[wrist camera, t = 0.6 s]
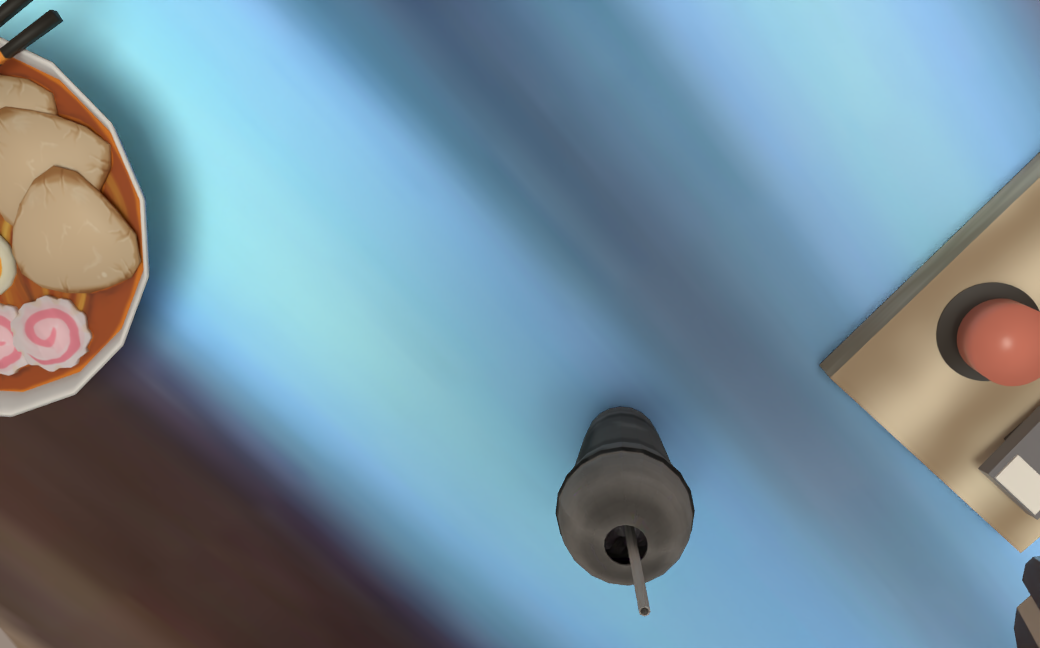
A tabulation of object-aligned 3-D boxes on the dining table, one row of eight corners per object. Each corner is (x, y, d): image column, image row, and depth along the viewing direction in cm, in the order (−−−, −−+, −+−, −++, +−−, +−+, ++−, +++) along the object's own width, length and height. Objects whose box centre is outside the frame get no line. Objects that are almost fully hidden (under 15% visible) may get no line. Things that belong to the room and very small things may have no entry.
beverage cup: (631, 363, 59) (641, 481, 40) (701, 449, 60) (746, 607, 41) (542, 430, 61) (511, 576, 41) (612, 513, 62) (614, 695, 42)
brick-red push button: (1055, 334, 52) (1076, 344, 50) (994, 390, 53) (1012, 402, 51) (1000, 282, 52) (1018, 289, 50) (939, 338, 53) (955, 348, 51)
